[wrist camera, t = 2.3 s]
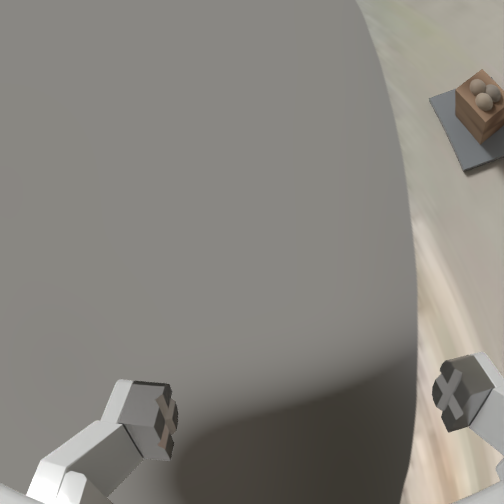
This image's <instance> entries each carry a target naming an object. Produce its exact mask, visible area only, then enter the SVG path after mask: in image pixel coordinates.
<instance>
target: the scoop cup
mask: <svg viewBox="0 0 504 504" xmlns="http://www.w3.org/2000/svg"><path fill="white" fill-rule="evenodd" d="M455 116H456V117H457V118H458V119H459V120H460V122H461V123H462V124H463V125H464V126H465V127H466V128H467V130H468V131H469V132H470V133H471V134H472V136H473V137H474V138H475V139H476V140H477V142H478V143H479V144H482V143H483V142H484V141H485V140H487V139H488V138H489V137H490V136H492V135H493V134H494V133H495V132H496V131H498V130H499V129H500V128H501V127H502V126H504V91H503V90H502V89H501V88H500V87H499V85H498V84H497V83H496V82H495V81H494V80H493V79H492V78H491V77H490V76H489V75H488V74H487V73H486V72H485V71H483V70H480V71H479V72H478V73H476V74H475V75H474V76H472V77H471V78H470V79H468V80H467V81H466V82H465V83H463V84H462V85H461V86H459V87H458V88H457V89H455Z"/></svg>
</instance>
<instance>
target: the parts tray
mask: <svg viewBox="0 0 504 504" xmlns="http://www.w3.org/2000/svg"><path fill="white" fill-rule="evenodd" d="M491 78H492V77H491ZM429 102H430V103H431V105H432V107H433V109H434V111H435V113H436V115H437V117H438V118H439V120H440V122H441V124H442V126H443V128H444V130H445V132H446V134H447V137H448V139H449V141H450V143H451V145H452V147H453V149H454V152H455V154H456V156H457V158H458V161H459V163H460V165H461V168H462V170H463V172H464V171H467V170H469V169H472V168H475V167H478V166H480V165H483V164H486V163H489V162H491V161H494V160H497V159H499V158H502V157H504V126H502V127H501V128H500V129H499V130H498V131H496V132H495V133H494V134H493V135H492V136H490V137H489V138H488V139H487V140H485V141H484V142H483V143H482V144H479V143H478V142H477V140H476V139H475V138H474V137H473V136H472V134H471V133H470V132H469V131H468V130H467V128H466V127H465V126H464V125H463V124H462V123H461V122H460V120H459V119H458V118H457V117H456V116H455V89H454V90H451V91H448V92H445V93H443V94H440V95H437V96H434V97H432V98H429Z"/></svg>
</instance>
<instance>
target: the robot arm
mask: <svg viewBox="0 0 504 504" xmlns="http://www.w3.org/2000/svg"><path fill="white" fill-rule="evenodd" d="M440 372H441V375H440V376H439V377H438V378H437V379H436V380H435V382H434V385H433V387H432V396H433V401H434V403H435V405H436V407H437V408H439V409H440V410H442V411H443V412H442V416H441V418H442V420H443V422H444V424H445V427H446V429H447V431H448V432H452V431H455V430H459V429H462V428H465V427H468V426H469V428H470V429H471V430H473V431H474V432H475V433H476V434H477V435H479V436H480V437H481V438H482V439H484V440H485V441H486V442H487V443H489V444H490V445H491V446H492V447H494V448H495V449H496V450H497V451H499V452H500V453H501V454H502V455H504V378H503V377H502V375H501V374H500V373H499V371H498V370H497V368H496V367H495V365H494V364H493V363H492V361H491V360H490V359H489V357H488V356H487V354H486V353H484V352H478V353H474V354H471V355H466V356H462V357H458V358H454V359H450V360H446V361H445V362H444V363H443V364H442V366H441V368H440ZM171 395H172V390H171V387H170V384H166V383H155V382H144V381H132V380H122V379H119V381H117V382H116V384H115V386H114V389H113V391H112V394H111V396H110V398H109V401H108V403H107V406H106V409H105V411H104V413H103V416H102V418H101V421H98V420H96V421H94V422H93V423H92V424H90V425H89V426H88V427H86V428H85V429H84V430H82V431H81V432H79V433H78V434H77V435H75V436H74V437H72V438H71V439H70V440H68V441H67V442H66V443H64V444H63V445H61V446H60V447H59V448H57V449H56V450H54V451H53V452H52V453H50V454H49V455H47V456H46V457H44V458H43V459H42V460H41V461H40V463H39V466H38V468H37V471H36V473H35V475H34V478H33V480H32V483H31V485H30V487H29V490H28V493H27V495H25V494H22V493H20V492H18V491H16V490H14V489H11V488H9V487H7V486H5V485H3V484H1V483H0V504H113V503H112V502H111V501H110V500H109V499H108V498H107V497H108V496H109V495H110V494H111V493H112V492H113V491H114V490H115V489H116V488H117V487H118V486H119V485H120V484H121V483H122V482H123V481H124V480H125V478H127V477H128V476H129V475H130V474H131V472H132V471H133V470H134V469H135V468H136V467H137V466H138V465H139V464H140V463H141V462H142V461H143V458H145V459H155V460H167V461H171V457H172V451H173V447H174V441H173V438H172V436H171V435H172V434H174V433H175V432H176V431H177V426H178V409H177V405H176V402H175V401H174V400H173V399H171ZM496 471H497V474H498V476H499V478H500V481H499V482H497V483H495V484H493V485H491V486H489V487H487V488H485V489H483V490H481V491H479V492H477V493H474V494H472V495H470V496H468V497H465V498H463V499H461V500H458V501H456V502H453V503H451V504H504V458H503V459H502V460H501V461H500V462H499V464H498V465H497V467H496Z"/></svg>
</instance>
